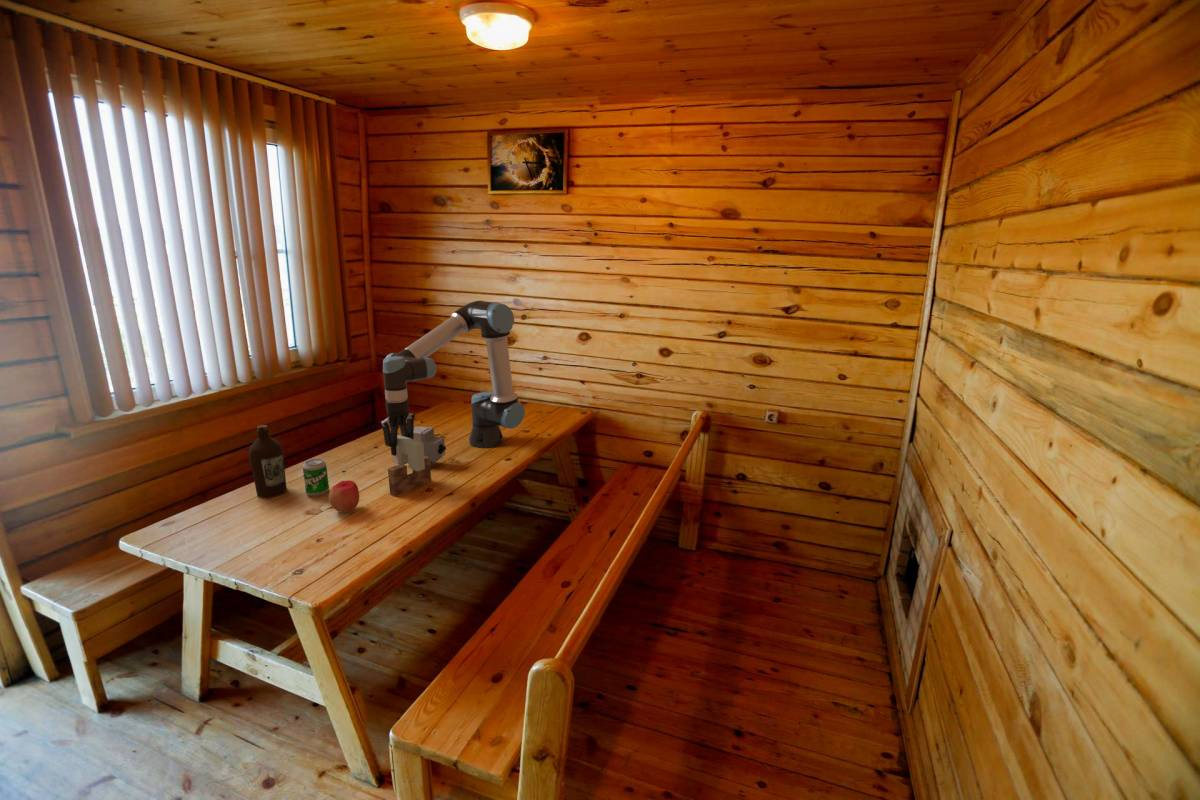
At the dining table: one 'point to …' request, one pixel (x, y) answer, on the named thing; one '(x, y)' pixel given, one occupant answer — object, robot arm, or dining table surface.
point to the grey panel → (411, 452)
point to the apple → (344, 496)
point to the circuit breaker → (430, 443)
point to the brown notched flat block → (408, 478)
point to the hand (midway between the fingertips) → (401, 461)
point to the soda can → (315, 477)
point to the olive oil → (267, 464)
